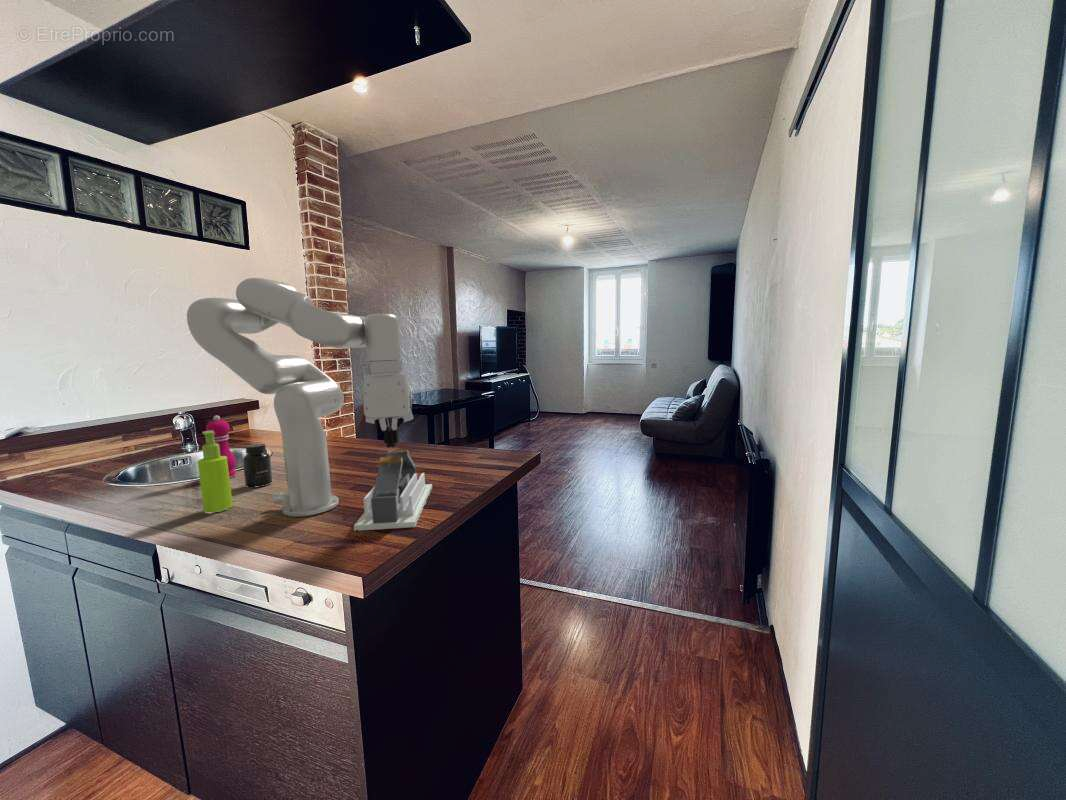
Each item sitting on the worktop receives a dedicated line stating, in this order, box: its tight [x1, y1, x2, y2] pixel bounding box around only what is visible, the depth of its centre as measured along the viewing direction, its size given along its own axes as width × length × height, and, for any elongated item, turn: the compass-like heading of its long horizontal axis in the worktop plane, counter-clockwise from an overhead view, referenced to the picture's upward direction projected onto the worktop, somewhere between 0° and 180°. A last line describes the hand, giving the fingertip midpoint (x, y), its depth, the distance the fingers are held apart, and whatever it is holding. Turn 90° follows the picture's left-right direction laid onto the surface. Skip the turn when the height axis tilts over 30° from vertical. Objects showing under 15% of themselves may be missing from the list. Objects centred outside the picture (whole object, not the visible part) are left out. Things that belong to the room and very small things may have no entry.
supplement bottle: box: [242, 443, 273, 488], centre depth 126 cm, size 7×7×12 cm
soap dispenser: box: [197, 430, 234, 512], centre depth 106 cm, size 6×7×20 cm
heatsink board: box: [353, 465, 433, 532], centre depth 105 cm, size 13×26×7 cm, turn 5°
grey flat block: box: [373, 456, 403, 497], centre depth 97 cm, size 5×10×2 cm
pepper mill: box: [205, 415, 237, 477], centre depth 134 cm, size 7×7×20 cm
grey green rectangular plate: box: [386, 449, 416, 469], centre depth 111 cm, size 5×10×2 cm
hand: (392, 445), depth 100 cm, fingers closed
